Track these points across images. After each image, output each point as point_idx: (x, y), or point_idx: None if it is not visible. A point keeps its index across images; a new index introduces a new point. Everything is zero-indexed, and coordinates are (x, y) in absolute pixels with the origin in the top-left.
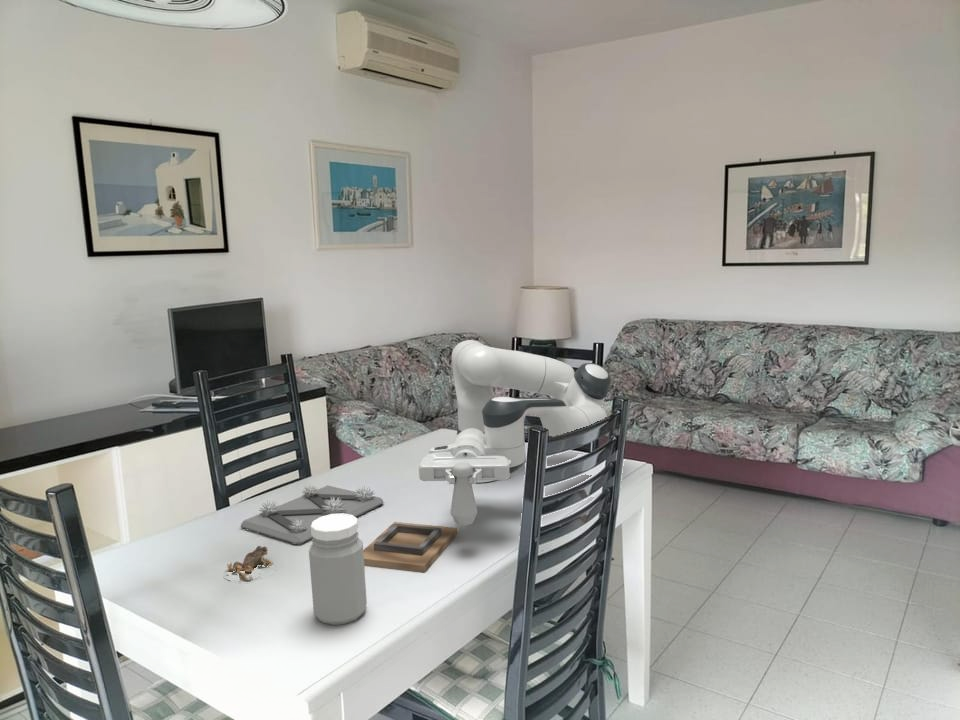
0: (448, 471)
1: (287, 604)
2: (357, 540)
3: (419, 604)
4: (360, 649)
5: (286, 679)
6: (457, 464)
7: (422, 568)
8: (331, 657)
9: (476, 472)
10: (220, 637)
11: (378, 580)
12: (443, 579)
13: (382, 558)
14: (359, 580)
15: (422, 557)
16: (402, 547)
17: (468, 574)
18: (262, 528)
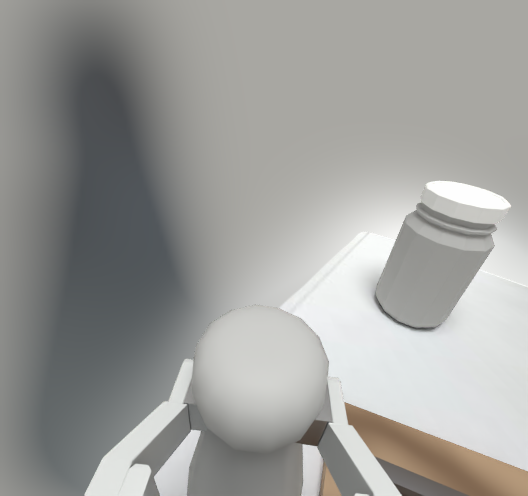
0: (370, 478)
1: (496, 334)
2: (418, 219)
3: (313, 310)
4: (349, 257)
5: (388, 241)
6: (297, 345)
7: None
8: (369, 253)
9: (158, 417)
10: (501, 287)
11: (409, 386)
12: None
13: (452, 454)
14: (390, 255)
15: None
16: (424, 478)
17: None
18: None
